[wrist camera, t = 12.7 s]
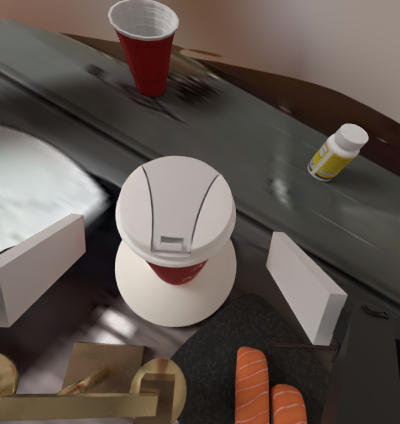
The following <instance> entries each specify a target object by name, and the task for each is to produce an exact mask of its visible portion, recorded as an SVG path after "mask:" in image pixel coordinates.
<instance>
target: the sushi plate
mask: <svg viewBox="0 0 400 424" xmlns="http://www.w3.org/2000/svg"><path fill="white" fill-rule="evenodd" d="M337 346H338V345H329V346H326V345H313V344H303V343H302V341H301V340H300V339H299V338H298V336H297V335H296V334H295V333H294V332H293V330H292V329H291V328H290V327H289V326H288V324H287V323H286V322H285V321H284V320H283V318H282V317H281V316H280V315H279V314H278V313H277V312H276V311H275V309H274V308H273V307H272V306H271V305H270V304H269V303H268V302H267V301H265V300H264V299H263V298H261V297H260V296H258V295H256V294H246V295H243V296H241V297H239V298H237V299H236V300H234V301H233V302H231V303H230V304H229V305H228V306H226V307H225V308H224V309H223V310H221V311H220V312H219V313H218V314H217V315H215V316H214V317H213V318H212V319H211V320H210V321H208V322H207V323H206V324H205V325H204V326H203V327H202V328H200V329H199V330H198V331H197V332H196V333H195V334H194V335H193V336H192V337H190V338H189V339H188V340H187V341H186V342H185V343H184V344H183V345H182V346H181V347H180V348H179V349H178V350H177V351H176V352H175V354H174V355H173V356H172V358H171V359H170V360H172V361H173V362H175V363H176V364H177V365H178V366H179V367H180V369H181V370H182V372H183V374H184V377H185V381H186V389H187V390H186V400H185V404H184V407H183V410H182V412H181V414H180V415H179V417H178V418H177V420H178V422H179V424H321V420H322V415H323V410H324V405H325V401H326V396H327V391H328V386H329V382H330V376H329V374H328V373H327V372H326V371H325V369H324V368H323V367H322V366H321V365H320V363H319V362H318V361H317V360H316V358H315V357H314V356H313V355H312V354H311V352H310V351H309V350H308V349H307V348H317V349H337Z"/></svg>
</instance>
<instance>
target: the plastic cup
mask: <svg viewBox="0 0 400 424" xmlns="http://www.w3.org/2000/svg"><path fill="white" fill-rule="evenodd" d="M108 17H109V19H110V23H111V25H112V26H113V27H114V29H115V31H116V32H117V35H118V37H119V40H120V43H121V44H122V47H123V50H124V53H125V56H126V59H127V62H128V65H129V68H130V71H131V73H132V75H133V78H134V81H135V84H136V87H137V89H138V91H139V92H140V93H141V94H143V95H145V96H151V97H153V96H159V95H161V94H163V92H164V91H165V88H166V83H167V75H168V70H169V62H170V54H171V46H172V41H173V37H174V34H175V32H176V30H177V28H178V22H179V19H178V18H177V16H176V14H175V12H173V11H172V10H171V9H170V8H168V7H167V6H165V5H163V4H160V3H158V2H156V1H151V0H125V1H121V2H118V3H117V4H115V5H114V6H112V7H111V8H110V11H109V13H108Z"/></svg>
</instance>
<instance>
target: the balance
mask: <svg viewBox="0 0 400 424" xmlns="http://www.w3.org/2000/svg"><path fill="white" fill-rule="evenodd" d="M144 351H145V346H137V345H121V344H105V343H89V342H76V343H75V344H74V347H73V351H72V354H71V358H70V361H69V365H68V369H67V372H66V376H65V379H64V383H63V386H62V390H61V391H59V392H58V393H56V394H16V391H17V387H18V382H19V373H18V368H17V365H16V363H15V362H14V360H13V359H12V358H11V357H9V356H8V355H6V354H3V353H0V421H20V420H51V419H82V418H112V417H134V419H135V422H134V424H173V423H174V422H175V421H176V419H177V418H178V417H179V415H180V414H181V412H182V410H183V407H184V404H185V400H186V390H187V389H186V381H185V377H184V374H183V372H182V370H181V369H180V367H179V366H178V365H177V364H176V363H175V362H173V361H172V360H170V359H167V358H156V359H152V360H150V361H148V362H147V363H146V364H144V365H143V366H142V364H143V357H144Z"/></svg>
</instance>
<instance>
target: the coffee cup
mask: <svg viewBox="0 0 400 424" xmlns="http://www.w3.org/2000/svg"><path fill="white" fill-rule="evenodd" d="M235 220H236V209H235V203H234V200H233V197H232V194H231V190H230V188H229V186H228V184H227V182H226V181H225V179H224V178H223V176H222V175H221V174H219V172H217V171H216V170H215V169H213V168H212V167H210V166H209V165H207V164H206V163H204V162H202V161H200V160H197V159H194V158H190V157H183V156H167V157H162V158H158V159H155V160H153V161H150V162H148V163H146V164H143V165H142V166H140V167H138V168H137V169H136V170H135V171H134V172H132V174H131V175H130V176H129V177H128V178H127V180H126V182H125V183H124V185H123V187H122V190H121V193H120V196H119V199H118V202H117V207H116V223H117V228H118V230H119V233H120V235H121V237H122V239H123V240H124V242H125V244H126V245H127V246H128V247H129V248H130V249H131V250H132V252H134V253H135V254H136V255H138V256H139V257H140V258H142V259H144V260H145V261H146V262H147V263H148V265H149V266H150V267H151V268H152V270H153V271H154V272H155V273H156V275H157V276H158V277H159V278H160V279H161V280H163V281H164V282H166V283H168V284H172V285H182V284H186V283H188V282H190V281H191V280H193V279H194V278H195V277H196V276H197V275H198V274H199V272H200V271H201V270H202V268H203V267H204V265H205V264H206V263H207V261H208V260H209V258H211V257H212V256H214V255H215V254H216V253H218V252H219V251H220V250H221V249H222V248H223V247H224V246H225V244H226V243H227V241H228V240H229V238H230V236H231V234H232V232H233V229H234V225H235Z"/></svg>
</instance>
